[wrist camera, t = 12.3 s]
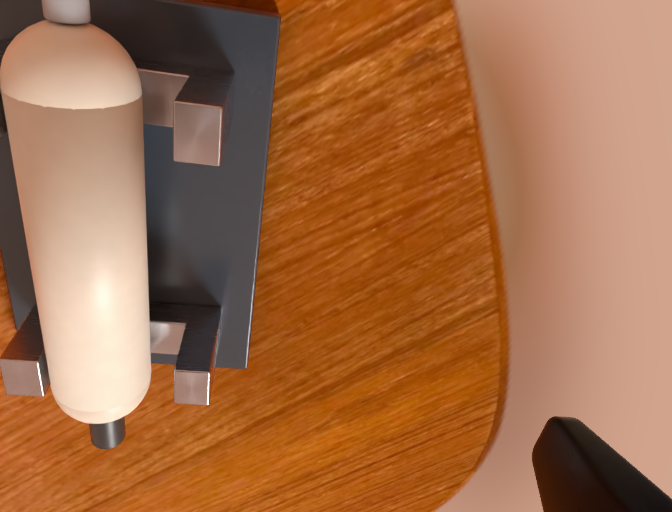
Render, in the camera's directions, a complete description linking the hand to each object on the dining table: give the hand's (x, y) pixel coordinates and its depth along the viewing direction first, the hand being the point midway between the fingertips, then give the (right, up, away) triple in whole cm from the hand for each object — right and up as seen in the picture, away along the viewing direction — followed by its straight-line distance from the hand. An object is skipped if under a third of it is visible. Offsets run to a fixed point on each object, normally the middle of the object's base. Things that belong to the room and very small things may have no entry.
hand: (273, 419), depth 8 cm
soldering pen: (-6, +4, +9) cm, 11 cm away
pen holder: (-6, +4, +11) cm, 13 cm away
